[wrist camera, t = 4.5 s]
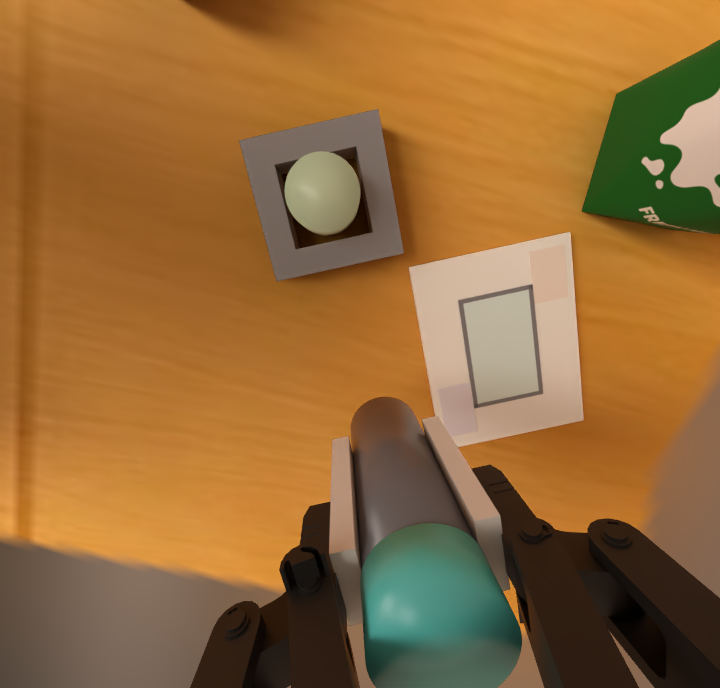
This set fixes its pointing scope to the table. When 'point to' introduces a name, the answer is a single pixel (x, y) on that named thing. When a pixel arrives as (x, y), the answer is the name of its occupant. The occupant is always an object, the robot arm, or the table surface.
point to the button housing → (367, 146)
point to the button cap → (323, 193)
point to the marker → (422, 565)
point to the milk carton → (664, 149)
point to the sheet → (501, 339)
